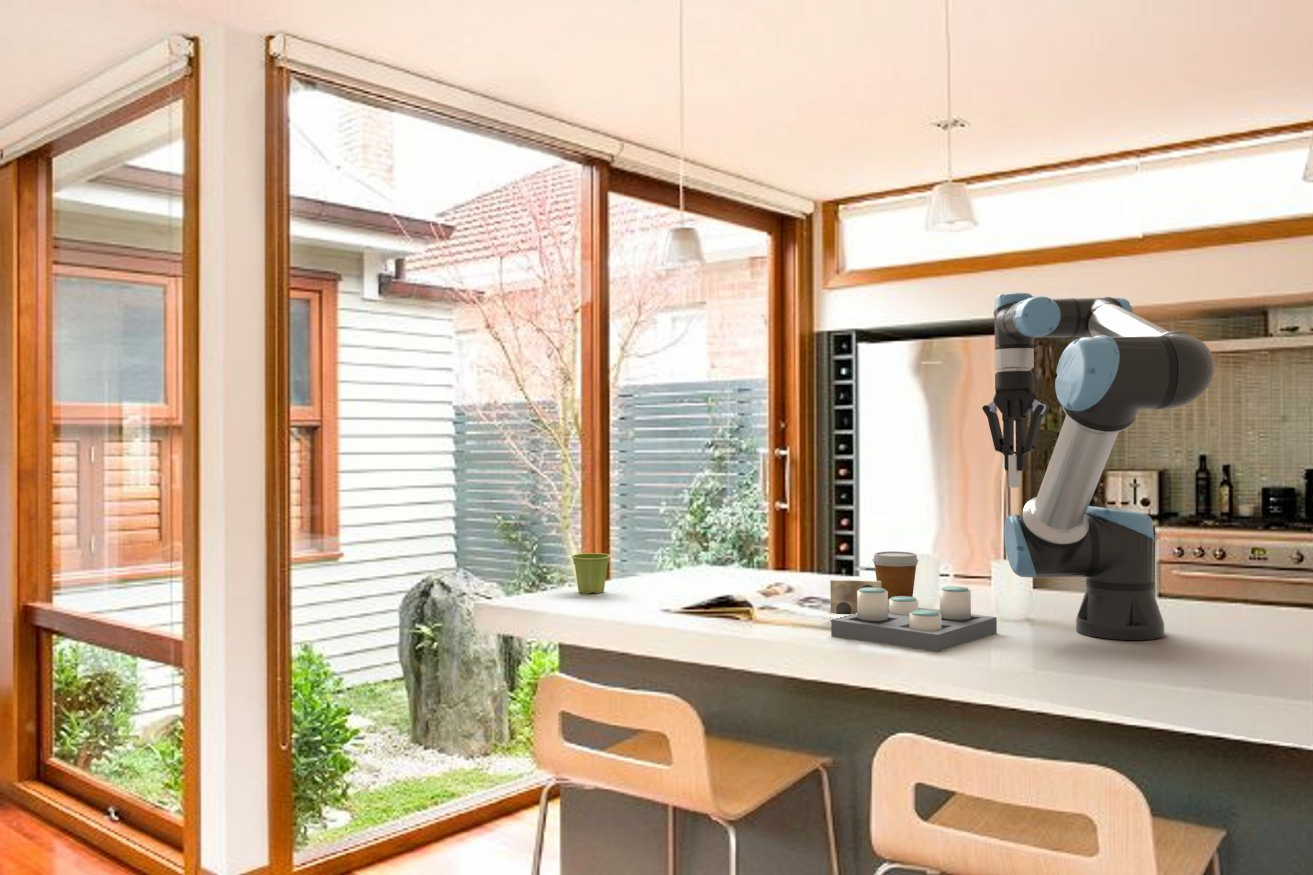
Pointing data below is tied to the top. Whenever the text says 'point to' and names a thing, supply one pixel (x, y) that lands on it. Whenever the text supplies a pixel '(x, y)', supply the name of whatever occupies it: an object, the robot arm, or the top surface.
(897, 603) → the button
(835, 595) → the card
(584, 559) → the plant pot
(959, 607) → the button
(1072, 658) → the top surface
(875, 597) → the button
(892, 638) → the board
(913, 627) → the button
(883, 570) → the disposable coffee cup
